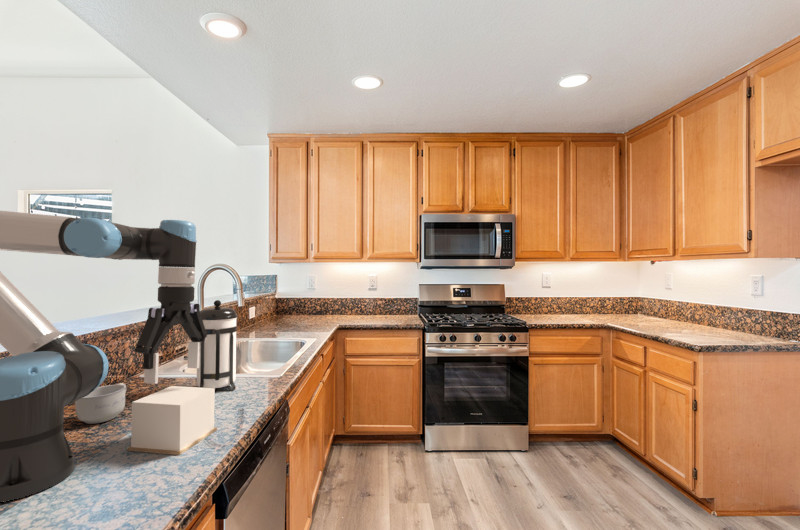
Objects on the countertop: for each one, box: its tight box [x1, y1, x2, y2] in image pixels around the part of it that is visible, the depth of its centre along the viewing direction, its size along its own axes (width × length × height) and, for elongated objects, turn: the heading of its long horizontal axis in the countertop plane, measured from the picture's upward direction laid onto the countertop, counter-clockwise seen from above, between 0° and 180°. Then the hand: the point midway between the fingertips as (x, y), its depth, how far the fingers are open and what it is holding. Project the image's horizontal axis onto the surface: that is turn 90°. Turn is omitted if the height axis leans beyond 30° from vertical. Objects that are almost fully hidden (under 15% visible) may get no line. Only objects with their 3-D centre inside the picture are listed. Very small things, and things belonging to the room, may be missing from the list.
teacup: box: [74, 382, 127, 425], centre depth 103 cm, size 14×11×8 cm
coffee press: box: [196, 299, 239, 391], centre depth 128 cm, size 17×16×30 cm
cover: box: [130, 385, 216, 451], centre depth 90 cm, size 12×12×10 cm
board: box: [126, 426, 218, 456], centre depth 90 cm, size 13×13×1 cm
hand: (173, 374), depth 90 cm, fingers open, 13 cm apart
